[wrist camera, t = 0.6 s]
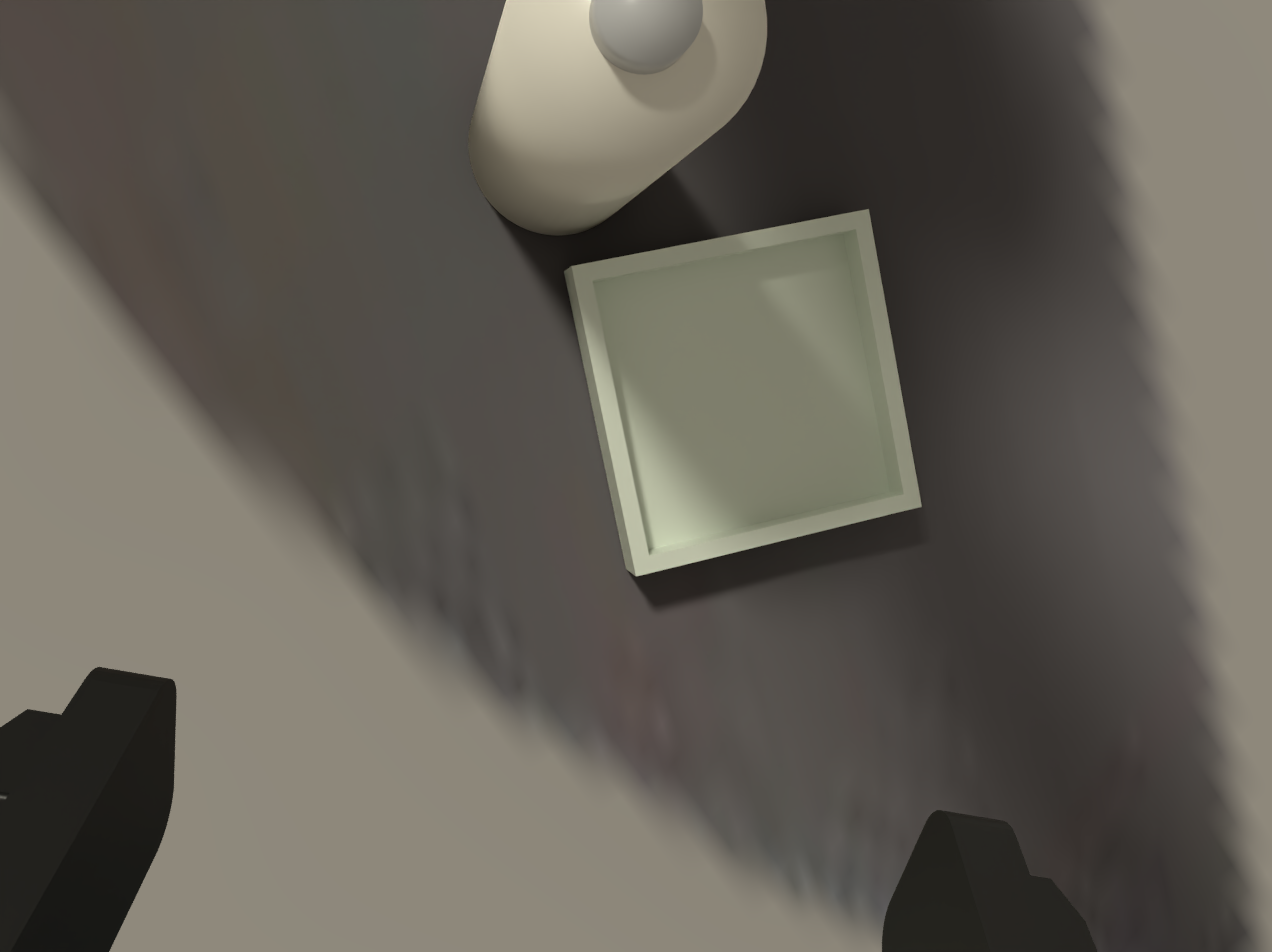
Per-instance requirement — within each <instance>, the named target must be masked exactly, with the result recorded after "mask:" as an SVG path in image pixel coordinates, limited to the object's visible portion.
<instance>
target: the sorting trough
mask: <svg viewBox="0 0 1272 952" xmlns="http://www.w3.org/2000/svg"><path fill="white" fill-rule="evenodd" d="M564 275H565V280H566V284H567V289H568V294H569V299H570V304H571V308H572V313H573V318H574V323H575V327H576V332H577V337H578V342H579V347H580V351H581V356H582V361H583V366H584V371H585V375H586V380H587V385H588V390H589V394H590V399H591V404H592V409H593V414H594V418H595V423H596V428H597V433H598V437H599V442H600V447H601V452H602V457H603V461H604V466H605V471H606V476H607V480H608V485H609V490H610V495H611V500H612V504H613V509H614V514H615V519H616V523H617V528H618V533H619V538H620V543H621V547H622V552H623V557H624V562H625V567H626V569H627V570H628V571H629V572H631V573H632V574H633V575H635V576H636V577H637V576H641V575H645V574H649V573H653V572H657V571H661V570H665V569H669V568H673V567H677V566H682V565H686V564H690V563H694V562H698V561H702V560H706V559H710V558H714V557H718V556H722V555H726V554H731V553H735V552H739V551H743V550H747V549H751V548H755V547H759V546H763V545H767V544H771V543H776V542H780V541H784V540H788V539H792V538H796V537H800V536H804V535H808V534H812V533H816V532H820V531H825V530H829V529H833V528H837V527H841V526H845V525H849V524H853V523H857V522H861V521H865V520H870V519H874V518H878V517H882V516H886V515H890V514H894V513H898V512H902V511H906V510H910V509H914V508H919V507H922V505H921V499H920V494H919V488H918V483H917V477H916V471H915V466H914V460H913V455H912V449H911V443H910V438H909V432H908V427H907V421H906V415H905V410H904V404H903V399H902V393H901V387H900V382H899V376H898V371H897V365H896V359H895V354H894V348H893V342H892V337H891V331H890V326H889V320H888V314H887V309H886V303H885V298H884V292H883V286H882V281H881V275H880V270H879V264H878V258H877V253H876V247H875V242H874V236H873V230H872V225H871V219H870V214H869V209H866V210H861V211H855V212H850V213H845V214H840V215H835V216H829V217H824V218H819V219H814V220H809V221H803V222H798V223H793V224H788V225H783V226H777V227H772V228H767V229H762V230H757V231H751V232H746V233H741V234H736V235H731V236H725V237H720V238H715V239H710V240H705V241H699V242H694V243H689V244H684V245H679V246H673V247H668V248H663V249H658V250H653V251H647V252H642V253H637V254H632V255H627V256H621V257H616V258H611V259H606V260H601V261H595V262H590V263H585V264H580V265H575V266H571V267H569V268H568V269H567V270H565V271H564Z"/></svg>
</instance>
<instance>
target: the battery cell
mask: <svg viewBox="0 0 1272 952" xmlns="http://www.w3.org/2000/svg"><path fill="white" fill-rule="evenodd" d="M766 41H767V14H766V6H765V0H506V3H505V6H504V10H503V13H502V17H501V20H500V23H499V27H498V30H497V34H496V37H495V41H494V44H493V47H492V51H491V54H490V58H489V61H488V65H487V68H486V72H485V75H484V78H483V82H482V85H481V89H480V92H479V96H478V99H477V102H476V106H475V109H474V113H473V116H472V120H471V124H470V128H469V138H468V151H469V158H470V164H471V167H472V171H473V174H474V177H475V179H476V181H477V184H478V186H479V187H480V189H481V191H482V193H483V194H484V196H485V197H486V198H487V200H488V201H489V202H490V204H491V205H492V206H493V207H494V208H495V209H496V210H497V211H498V212H499V213H500V214H501V215H503V216H504V217H505V218H507V219H508V220H509V221H511V222H513V223H514V224H516V225H518V226H520V227H522V228H524V229H527V230H529V231H532V232H536V233H539V234H545V235H558V236H563V235H571V234H576V233H580V232H584V231H586V230H589V229H591V228H594V227H595V226H597V225H599V224H601V223H602V222H604V221H605V220H606V219H608V218H609V217H610V216H612V215H613V214H614V213H615V212H617V211H618V210H619V209H620V208H622V207H623V206H624V205H625V204H627V203H628V202H629V201H630V200H632V199H633V198H634V197H635V196H637V195H638V194H639V193H640V192H642V191H643V190H644V189H646V188H647V187H648V186H649V185H651V184H652V183H653V182H654V181H656V180H657V179H658V178H659V177H661V176H662V175H663V174H664V173H666V172H667V171H668V170H669V169H671V168H672V167H673V166H674V165H676V164H677V163H678V162H679V161H681V160H682V159H683V158H684V157H686V156H687V155H688V154H689V153H691V152H692V151H693V150H694V149H696V148H697V147H698V146H699V145H701V144H702V143H703V142H704V141H706V140H707V139H708V138H709V137H711V136H712V135H713V134H714V133H716V132H717V131H718V130H719V129H721V128H722V127H723V126H725V125H726V124H727V123H728V122H729V121H730V120H731V119H732V118H733V116H734V115H735V114H736V113H737V112H738V111H739V109H740V108H741V107H742V105H743V104H744V103H745V101H746V100H747V98H748V96H749V95H750V93H751V91H752V89H753V87H754V86H755V83H756V81H757V78H758V76H759V73H760V70H761V67H762V63H763V59H764V55H765V49H766Z"/></svg>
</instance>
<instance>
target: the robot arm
mask: <svg viewBox="0 0 1272 952" xmlns="http://www.w3.org/2000/svg"><path fill="white" fill-rule="evenodd" d="M175 726H176V686H175V682H174V681H173V680H172V679H168V678H161V677H155V676H149V675H144V674H137V673H132V672H126V671H120V670H114V669H108V668H102V667H97V668H95V669H94V670H92V671H91V672H90V674H89V675H88V676H87V677H86V679H85V680H84V682H83V683H82V685H81V686H80V688H79V689H78V691H77V692H76V694H75V695H74V697H73V698H72V700H71V701H70V703H69V704H68V706H67V707H66V709H65V711H64V712H63V713H62V715H60V714H53V713H47V712H41V711H35V710H28V709H27V710H26V711H24V712H23V713H21V714H20V715H18V716H17V717H15V718H14V719H12V720H11V721H9V722H8V723H6V724H5V725H3V726H2V727H0V952H109V951H110V949H111V947H112V944H113V942H114V940H115V938H116V936H117V934H118V932H119V930H120V928H121V926H122V924H123V922H124V920H125V918H126V915H127V913H128V911H129V909H130V907H131V905H132V903H133V901H134V899H135V897H136V894H137V893H138V891H139V888H140V886H141V884H142V882H143V880H144V878H145V876H146V874H147V872H148V870H149V868H150V866H151V863H152V861H153V859H154V857H155V855H156V853H157V851H158V848H159V846H160V843H161V841H162V838H163V835H164V832H165V829H166V826H167V822H168V818H169V814H170V809H171V804H172V798H173V790H174V762H175V761H174V760H175ZM882 952H1097V950H1096V947H1095V945H1094V942H1093V940H1092V937H1091V935H1090V932H1089V930H1088V927H1087V925H1086V923H1085V921H1084V920H1083V918H1082V917H1081V916H1080V915H1079V913H1078V912H1077V911H1076V910H1075V908H1074V907H1073V906H1072V905H1071V904H1070V902H1069V901H1068V900H1067V899H1066V897H1065V896H1064V895H1063V894H1062V892H1061V891H1060V890H1059V889H1058V887H1057V886H1056V885H1055V884H1054V882H1053V881H1052V880H1051V879H1048V878H1042V877H1036V876H1030V874H1029V871H1028V868H1027V865H1026V863H1025V860H1024V857H1023V854H1022V852H1021V849H1020V846H1019V844H1018V841H1017V838H1016V835H1015V833H1014V831H1013V829H1012V828H1011V826H1010V825H1009V824H1008V823H1007V822H1005V821H1001V820H995V819H989V818H983V817H977V816H971V815H965V814H959V813H953V812H947V811H941V810H937V811H935V812H933V813H932V814H931V815H930V817H929V818H928V820H927V821H926V823H925V825H924V828H923V830H922V832H921V834H920V837H919V839H918V841H917V843H916V845H915V848H914V850H913V852H912V854H911V856H910V859H909V861H908V863H907V865H906V868H905V870H904V872H903V874H902V876H901V879H900V881H899V883H898V885H897V887H896V890H895V892H894V894H893V896H892V898H891V901H890V903H889V906H888V909H887V912H886V916H885V921H884V927H883V936H882Z"/></svg>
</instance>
